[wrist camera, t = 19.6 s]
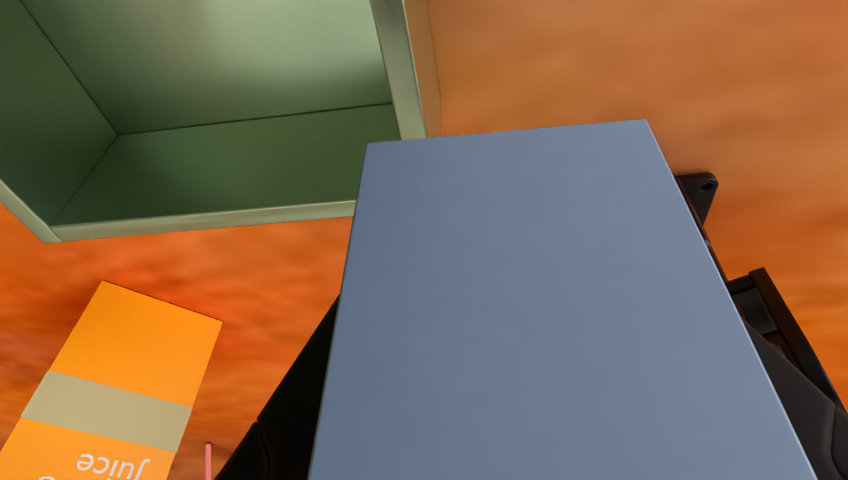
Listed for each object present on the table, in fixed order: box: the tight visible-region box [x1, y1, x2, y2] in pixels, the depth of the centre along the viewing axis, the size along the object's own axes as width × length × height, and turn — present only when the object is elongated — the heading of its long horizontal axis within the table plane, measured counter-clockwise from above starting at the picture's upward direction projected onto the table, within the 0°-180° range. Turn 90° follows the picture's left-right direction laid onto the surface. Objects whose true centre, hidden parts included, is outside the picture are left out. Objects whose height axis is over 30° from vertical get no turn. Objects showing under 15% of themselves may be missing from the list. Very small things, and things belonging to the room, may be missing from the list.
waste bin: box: [0, 0, 441, 244], centre depth 15 cm, size 12×15×6 cm
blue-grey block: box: [307, 119, 818, 480], centre depth 8 cm, size 5×5×6 cm
